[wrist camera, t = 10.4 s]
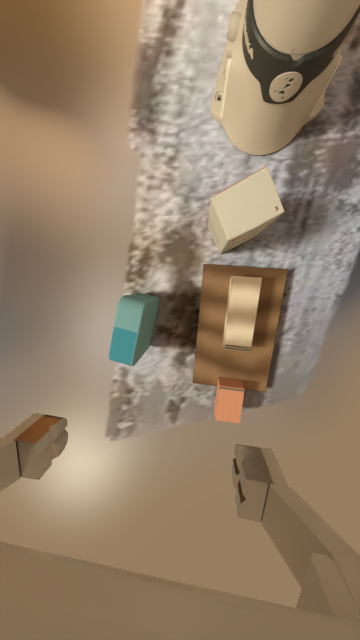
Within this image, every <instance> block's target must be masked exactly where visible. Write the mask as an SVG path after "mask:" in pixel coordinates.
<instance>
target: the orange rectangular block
mask: <svg viewBox="0 0 360 640" xmlns="http://www.w3.org/2000/svg"><path fill="white" fill-rule="evenodd" d="M244 392H245V388H244V386H243V383H242V381H241V380H236V379H227V378H219V377H218V383H217V391H216V399H215V407H214V412H215V420H219V421H226V422H233V423H240V417H241V410H242V404H243V398H244Z"/></svg>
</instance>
